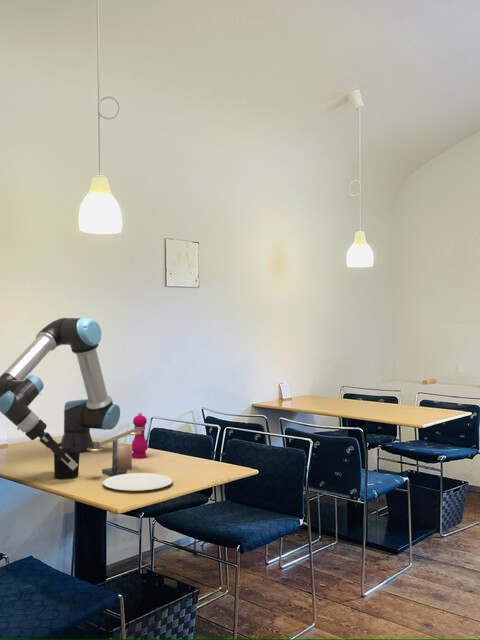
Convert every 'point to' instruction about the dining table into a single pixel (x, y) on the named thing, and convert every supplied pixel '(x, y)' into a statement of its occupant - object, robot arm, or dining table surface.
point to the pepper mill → (139, 437)
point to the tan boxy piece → (124, 456)
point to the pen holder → (64, 470)
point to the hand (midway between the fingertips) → (72, 463)
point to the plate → (137, 482)
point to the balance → (96, 447)
